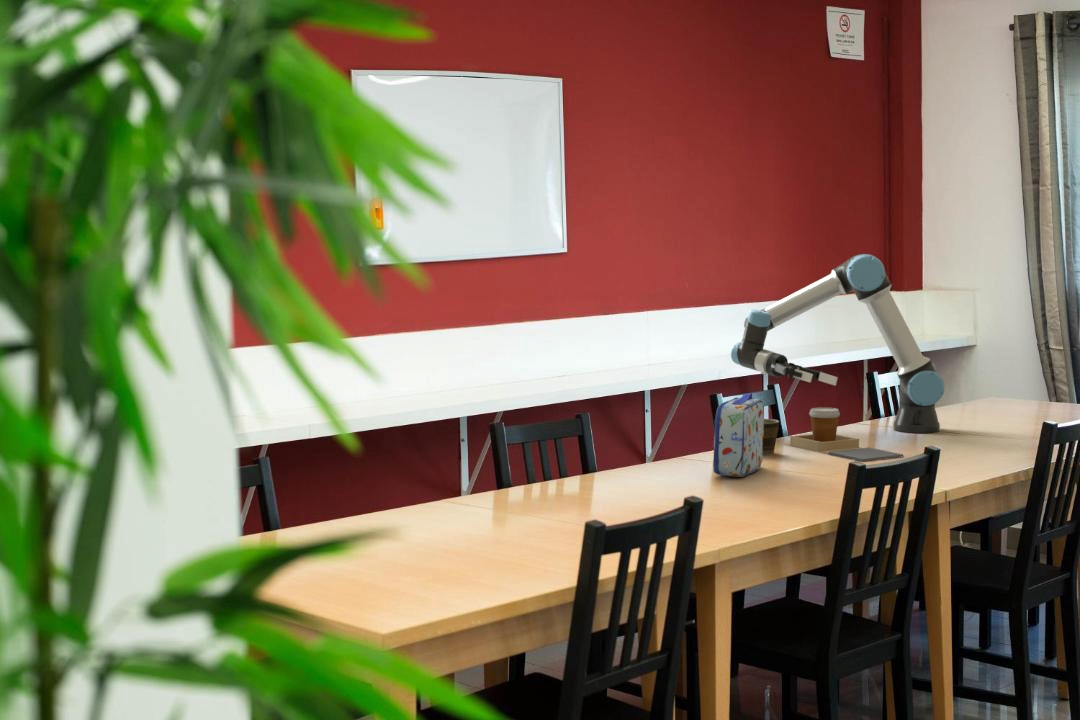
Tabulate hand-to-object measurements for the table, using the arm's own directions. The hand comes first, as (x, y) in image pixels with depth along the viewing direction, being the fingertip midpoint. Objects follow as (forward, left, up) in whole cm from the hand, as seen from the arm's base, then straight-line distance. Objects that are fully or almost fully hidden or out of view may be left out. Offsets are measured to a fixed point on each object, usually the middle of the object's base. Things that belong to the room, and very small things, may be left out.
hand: (823, 379), depth 410 cm
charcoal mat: (+3, +23, -21) cm, 31 cm away
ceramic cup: (+28, +4, -21) cm, 35 cm away
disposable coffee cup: (+3, +4, -21) cm, 21 cm away
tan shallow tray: (+3, +4, -21) cm, 21 cm away
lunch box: (+52, +26, -21) cm, 62 cm away
